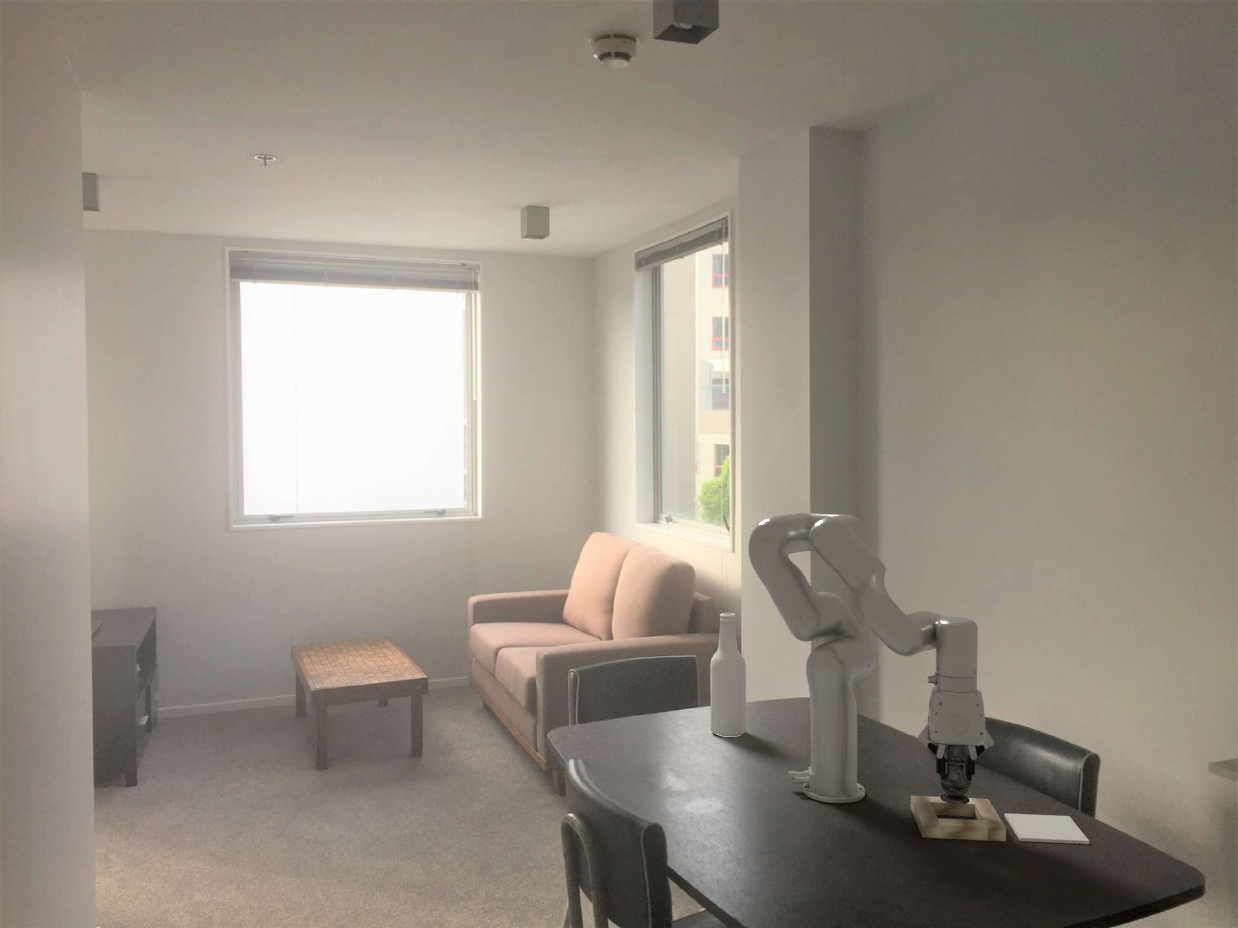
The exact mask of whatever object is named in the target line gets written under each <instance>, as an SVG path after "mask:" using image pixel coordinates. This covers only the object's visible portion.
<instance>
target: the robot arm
mask: <svg viewBox="0 0 1238 928" xmlns="http://www.w3.org/2000/svg"><path fill="white" fill-rule="evenodd" d="M867 540H868V531H867V528H866V526H865V524H864V522H862V521H861V520H860V519H859V518H858V517H856V516H854V515H851V514H839V513H838V514H836V513H835V514H832V513H831V514H830V513H829V514H828V513H815V512H814V513H813V512H811V513H809V512H797V513H789V514H780V515H774V516H770V517H767V518H764V519H763V520H762V521H759V523H757V525H756V526H755V527H754V529H753V530H752V531H751V534H750V536H749V541H748V550H747V551H748V557H749V561H750V564H751V565H752V568H753V570H754V572H755V573H756V575H757V576H758V578H759V579H760V581H761V583H762V585H763V586H764V587H765V589H766V590H767V592H768V594H769V596H770V598H771V599H772V602H773V603H774V606H775V607H776V608H777V611H778V612H779V615H780V616H781V617H782V620H783V621H784V623H785V625H786V627H787V628H788V630H789V631H790V633H791V635H792V636H793V637H794V638H796V639H797V640H799V641H800V642H807V643H808V642H813V641H817V640H822V642H823V643H821V644H819V645H817V646H816V647H815V648H814V649H812V651H810V653H809V655H808V656H807V659H806V662H805V663H806V664H805V673H806V674H805V675H806V679H807V685H808V686H807V687H808V691H809V693H808V694H809V707H810V708H809V710H810V711H809V713H810V714H809V718H810V719H809V720H810V722H809V723H810V725H809V726H810V730H809V731H810V734H809V735H810V737H809V738H810V766H808V768H807V769H808V770H803V771H795V770H788V781H794V784H798V785H799V784H803V785H802V792H803V793H804V795H805V796H807V797H808V798H811V799H813V800H815V801H819V802H823V803H829V804H830V803H831V804H848V803H849V804H851V803H855V802H858V801H861V800H862V799H864V798H865V795H866V790H865V788H864V786H863V785H862V784H860V783H858V706H857V700H856V697H855V693H854V690H853V684H854V683H856V682H858V681H861V680H863V679H865V678H867V677H868V676H869V675H871V674H872V672H873V670H874V669H875V665H876V654H875V650H874V648H873V645H872V643H871V642H870V640H869V638H868V637H867V635H866V633H865V631H864V630H863V628H862V626H861V625H860V624H859V621H858V620H857V618H856V617H855V615H854V613H853V611H852V610H851V609H850V607H849V605H848V604H847V603H846V601H844V599H842V598H841V597H840V596H839V595H837V594H836V593H833V592H830V591H819V592H816V591H815V590H814V589H813V587H812V586H811V585H810V582H809V581H808V579H807V577H806V576H805V574H804V573H803V571H802V570H801V569H800V568H799V566H797V565H796V564H795V563H794V562H793V561H792V560H791V559H790V557H789V555H790V554H796V553H802V552H815V553H816V554H817V555H818V556H819V557H820V558H821V560H823V562H824V563H825V564H826V565H827V566H828V567H829V568H830V569H831V570H832V571H833V573H835V574H836V576H837V577H838V578H839V579H840V580H841V582H843V584H845V586H847V588H848V589H849V590H850V591H851V592H852V594H853V596H854V600H855V603H856V606H857V608H858V611H859V613H860V615H861V617H862V619H863V621H864V622H865V624H866V625H867V626H868V628H869V629H870V630H871V631H872V632H873V633H874V635H875V636H876V637H877V638H878V639H879V640H880V641H881V642H882V644H884V645H885V646H886V647H887V649H889V650H890V651H892V652H894V653H895V654H896V655H899V656H903V657H912V656H913V657H914V656H915V655H919V654H920V653H923V652H926V651H930V650H935V671H934V674H933V675H929V676H927V683H928V684H932V685H934V686H933V687H932V688H931V693H930V697H929V703H928V713H927V723H926V724H925V726H924V728H923V729H922V730H921V731H920V733H919V734H918V736H917V740H918V742H919V743H920V744H922V745H923V746H925V747H926V748H928V749H929V751H931V753H933V755H935V762H936V763H935V772H936V774H938V775H939V778H940V777H941V779H942V780H945V779H946V773H947V762H946V759H947V758H946V757H945V750H946V746H948V745H963V746H966V751H967V753H966V755H965V756H964V761H965V764H964V776H965V778H967V780H969V781H971V782H972V781H973V777H972V776H975V775H976V773H975V772H976V760H978V757H979V756H980V755H981V754H982V753H984V752H985V750H987V749H989V748H990V747H992V746H994V745H995V740H994V739H993V737H992V736H991V735H990V734H989V732H988V730H987V729H986V713H985V706H984V705H985V704H984V698H983V694H982V691H981V690H979V689H978V647H979V646H978V644H979V643H978V642H979V640H978V638H979V637H978V636H979V634H978V633H979V631H978V625H977V623H976V621H974V620H972V619H971V618H968V617H967V618H966V617H962V616H961V617H959V616H947V615H942V614H939V613H937V612H936V613H935V612H933V611H927V610H920V611H916V612H913V613H909V614H906V613H905V612H904V611H903V610H902V609H901V608H900V607H899V606H898V605H897V604H896V603H895V602H894V600H893V599H892V598H891V596H890V594H889V592H888V591H887V588H886V584H885V576H886V571H887V570H886V569H887V568H886V565H885V564H884V562H883V561H882V560H881V559H880V558H879V557H878V556H877V555H876V554H875V553H874V552H873V551H872V549H870V548H869V547H868V545H866V544H867ZM929 738H930V739H929Z"/></svg>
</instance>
